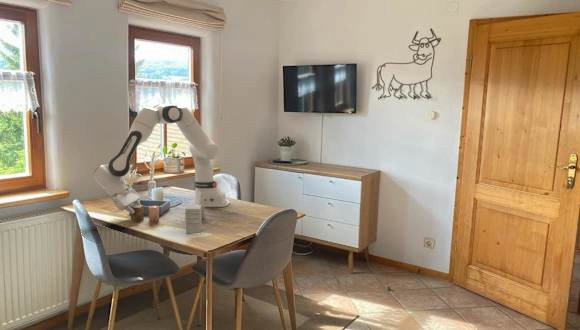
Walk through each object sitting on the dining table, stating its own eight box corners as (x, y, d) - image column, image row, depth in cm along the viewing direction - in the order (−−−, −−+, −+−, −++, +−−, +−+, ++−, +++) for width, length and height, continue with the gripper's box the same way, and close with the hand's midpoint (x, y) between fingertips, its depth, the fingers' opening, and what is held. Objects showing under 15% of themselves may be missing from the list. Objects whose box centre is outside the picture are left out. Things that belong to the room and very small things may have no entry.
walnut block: (143, 219, 236) (143, 205, 235) (140, 222, 231) (139, 207, 230) (134, 219, 236) (134, 204, 235) (130, 222, 231) (130, 207, 230)
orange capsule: (160, 220, 235) (160, 205, 234) (156, 223, 230) (156, 208, 229) (151, 220, 236) (150, 205, 234) (147, 222, 231) (147, 207, 229)
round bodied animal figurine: (181, 220, 236) (180, 205, 234) (199, 216, 244) (199, 201, 243) (189, 223, 231) (188, 208, 230) (207, 219, 240) (207, 204, 238)
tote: (169, 209, 258) (169, 200, 257) (161, 215, 244) (161, 207, 243) (139, 207, 259) (139, 199, 258) (129, 214, 245) (129, 205, 244)
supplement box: (187, 229, 222) (186, 204, 220) (202, 229, 223) (202, 204, 221) (185, 233, 215) (184, 208, 213) (200, 233, 215) (200, 208, 213)
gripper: (113, 192, 221) (133, 211, 222) (131, 183, 241) (149, 201, 242) (105, 200, 222) (125, 220, 223) (123, 191, 242) (141, 209, 243)
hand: (137, 210), depth 233 cm, fingers open, 8 cm apart
